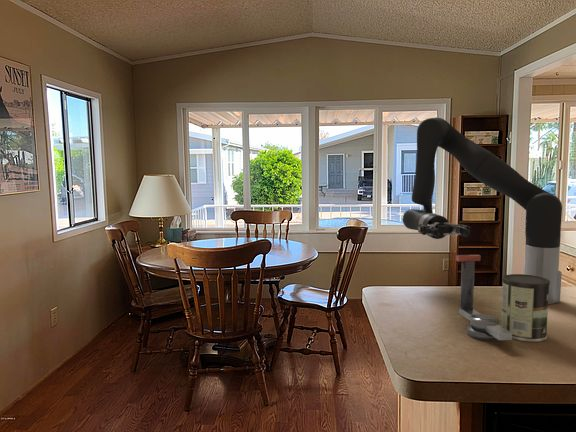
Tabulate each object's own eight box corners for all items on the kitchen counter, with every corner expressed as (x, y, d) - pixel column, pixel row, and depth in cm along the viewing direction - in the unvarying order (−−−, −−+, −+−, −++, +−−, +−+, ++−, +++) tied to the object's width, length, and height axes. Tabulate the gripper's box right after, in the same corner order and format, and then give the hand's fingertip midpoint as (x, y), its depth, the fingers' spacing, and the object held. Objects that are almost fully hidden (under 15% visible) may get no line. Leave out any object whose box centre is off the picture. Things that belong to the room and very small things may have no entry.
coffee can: (538, 328, 114) (541, 274, 113) (553, 343, 104) (557, 284, 103) (495, 325, 116) (497, 272, 115) (506, 340, 106) (509, 283, 105)
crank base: (508, 340, 106) (509, 334, 106) (477, 341, 105) (477, 335, 105) (490, 328, 114) (490, 322, 114) (460, 329, 113) (460, 323, 113)
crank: (518, 341, 101) (522, 270, 99) (492, 342, 100) (495, 271, 99) (474, 313, 120) (476, 254, 119) (452, 314, 120) (453, 254, 118)
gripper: (412, 213, 143) (428, 220, 127) (455, 214, 143) (477, 220, 127) (411, 236, 144) (427, 245, 128) (454, 237, 144) (476, 246, 128)
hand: (452, 233), depth 127 cm, fingers open, 8 cm apart
